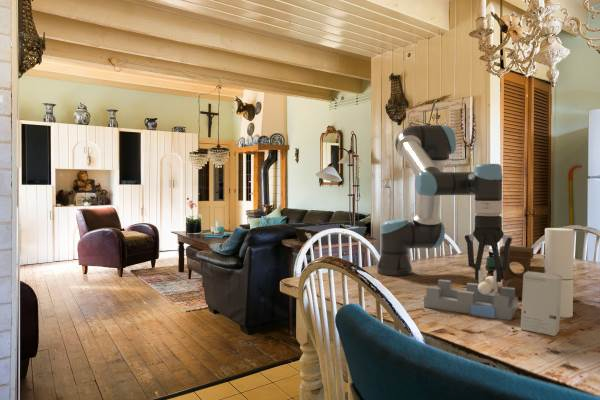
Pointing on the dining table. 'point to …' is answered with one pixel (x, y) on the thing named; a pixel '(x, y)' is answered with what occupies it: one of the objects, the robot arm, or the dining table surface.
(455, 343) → the dining table surface
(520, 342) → the dining table surface
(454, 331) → the dining table surface
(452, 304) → the grey notched frame
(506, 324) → the dining table surface
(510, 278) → the wooden toy train
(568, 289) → the cylindrical container
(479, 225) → the robot arm
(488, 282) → the cream round-ended rod
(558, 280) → the skincare box
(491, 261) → the binoculars
